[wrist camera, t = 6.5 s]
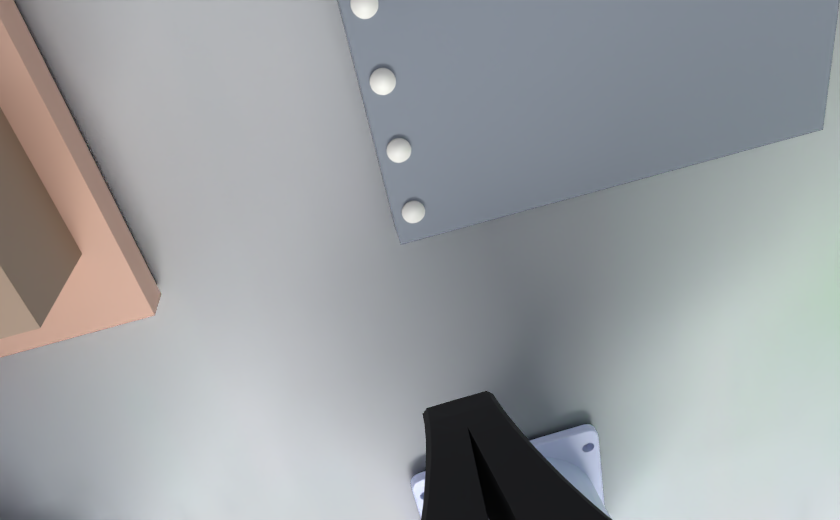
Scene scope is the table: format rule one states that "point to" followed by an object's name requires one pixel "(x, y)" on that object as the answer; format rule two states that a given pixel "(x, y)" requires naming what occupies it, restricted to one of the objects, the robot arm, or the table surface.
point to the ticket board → (574, 94)
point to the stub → (56, 214)
